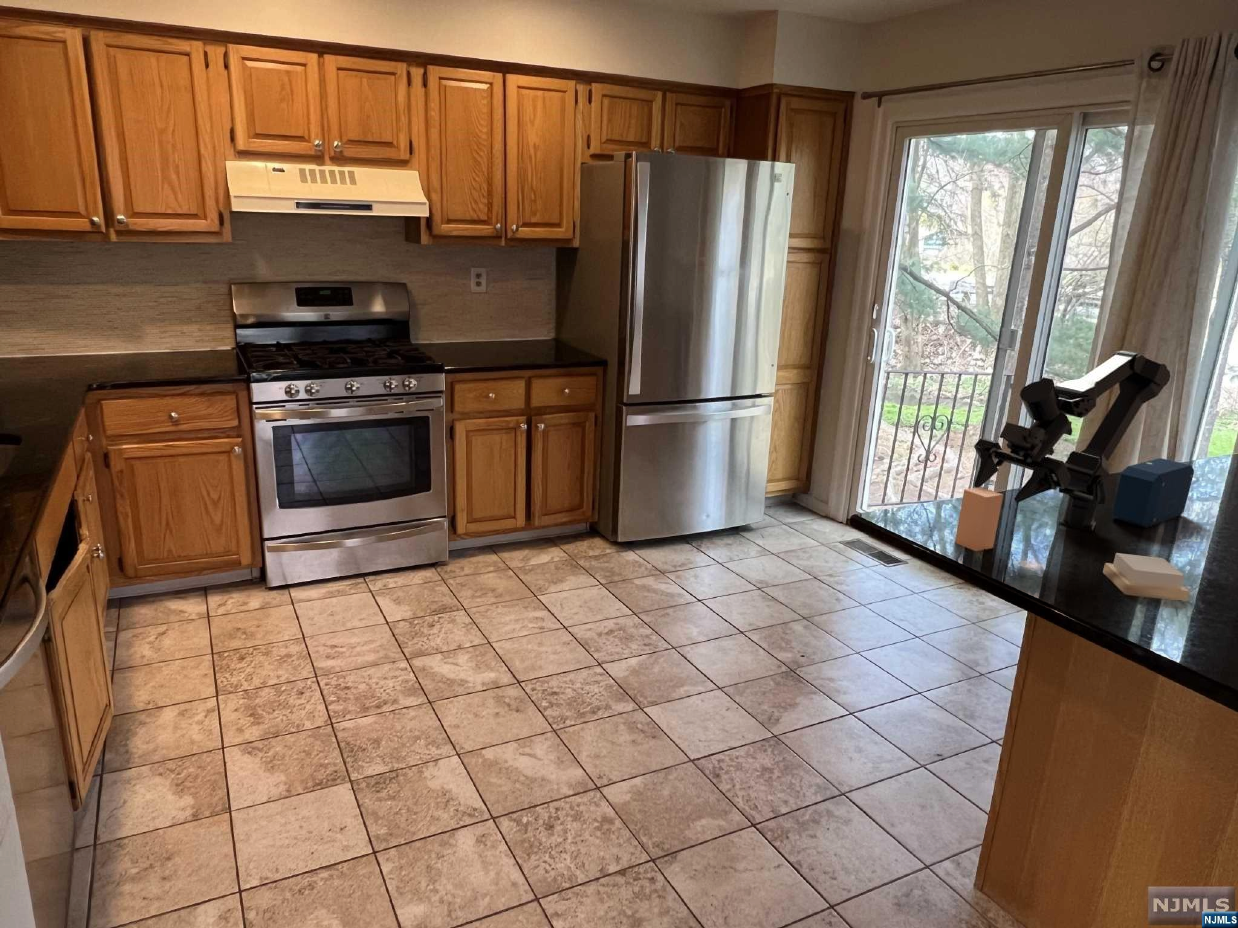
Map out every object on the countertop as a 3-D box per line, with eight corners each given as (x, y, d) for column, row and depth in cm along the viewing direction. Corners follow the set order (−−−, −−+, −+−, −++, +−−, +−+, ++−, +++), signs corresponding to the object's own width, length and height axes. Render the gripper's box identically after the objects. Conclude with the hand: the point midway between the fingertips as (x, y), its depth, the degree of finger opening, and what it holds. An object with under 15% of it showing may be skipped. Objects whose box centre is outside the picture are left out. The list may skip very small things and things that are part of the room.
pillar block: (971, 539, 170) (981, 486, 167) (992, 547, 165) (1003, 494, 162) (954, 542, 167) (964, 489, 164) (975, 551, 163) (986, 497, 160)
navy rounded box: (1145, 505, 200) (1166, 423, 195) (1186, 516, 194) (1208, 431, 188) (1103, 518, 188) (1124, 431, 183) (1145, 531, 181) (1168, 441, 176)
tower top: (1112, 565, 155) (1115, 552, 154) (1159, 570, 154) (1163, 558, 153) (1131, 582, 147) (1134, 569, 146) (1180, 588, 146) (1184, 575, 145)
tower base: (1102, 575, 157) (1105, 562, 156) (1159, 581, 155) (1163, 569, 155) (1124, 597, 147) (1127, 584, 146) (1186, 604, 146) (1189, 591, 145)
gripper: (988, 399, 171) (941, 455, 169) (1074, 420, 155) (1024, 482, 153) (1006, 434, 177) (961, 489, 175) (1091, 458, 161) (1042, 518, 159)
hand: (995, 493), depth 165 cm, fingers open, 9 cm apart
